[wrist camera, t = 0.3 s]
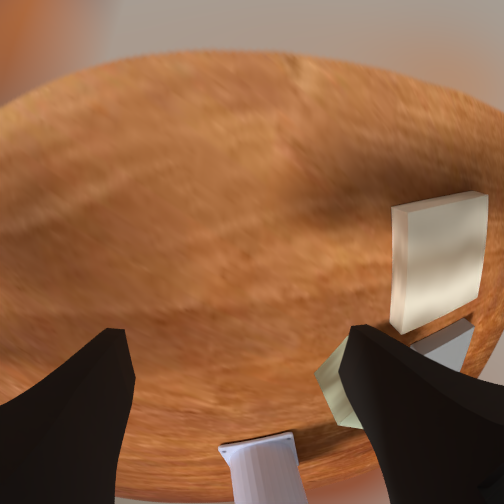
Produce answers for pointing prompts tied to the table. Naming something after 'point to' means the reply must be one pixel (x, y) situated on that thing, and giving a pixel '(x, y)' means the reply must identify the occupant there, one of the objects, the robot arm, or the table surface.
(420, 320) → the pale ash block
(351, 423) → the sage green block
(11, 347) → the table surface
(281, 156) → the table surface
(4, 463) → the robot arm
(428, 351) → the slate grey block
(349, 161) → the table surface
